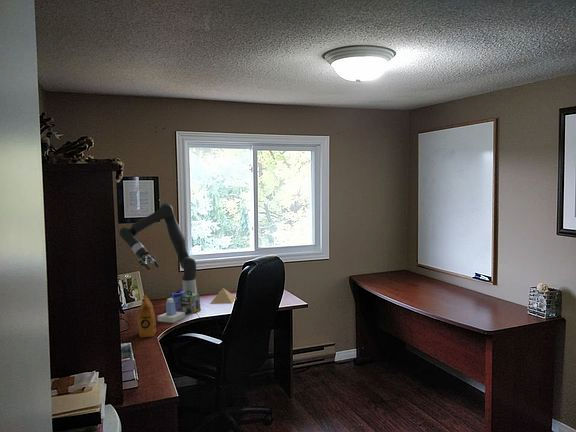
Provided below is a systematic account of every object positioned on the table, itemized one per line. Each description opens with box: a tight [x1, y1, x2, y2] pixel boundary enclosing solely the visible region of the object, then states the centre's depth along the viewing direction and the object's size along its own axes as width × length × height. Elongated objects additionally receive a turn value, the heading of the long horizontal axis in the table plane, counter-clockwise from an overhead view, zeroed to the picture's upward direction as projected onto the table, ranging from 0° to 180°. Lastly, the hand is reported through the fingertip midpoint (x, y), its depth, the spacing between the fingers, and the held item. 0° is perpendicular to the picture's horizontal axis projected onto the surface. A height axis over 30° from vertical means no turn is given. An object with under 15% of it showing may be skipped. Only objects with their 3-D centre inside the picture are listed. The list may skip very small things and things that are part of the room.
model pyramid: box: [209, 288, 236, 305], centre depth 328 cm, size 17×17×10 cm
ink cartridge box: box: [169, 289, 186, 312], centre depth 307 cm, size 10×6×14 cm, turn 135°
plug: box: [165, 297, 176, 316], centre depth 285 cm, size 4×4×13 cm
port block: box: [157, 311, 186, 324], centre depth 285 cm, size 12×12×4 cm
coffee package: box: [137, 294, 157, 339], centre depth 257 cm, size 10×12×22 cm
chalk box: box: [181, 290, 201, 315], centre depth 302 cm, size 9×9×15 cm
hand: (154, 267), depth 301 cm, fingers open, 8 cm apart
